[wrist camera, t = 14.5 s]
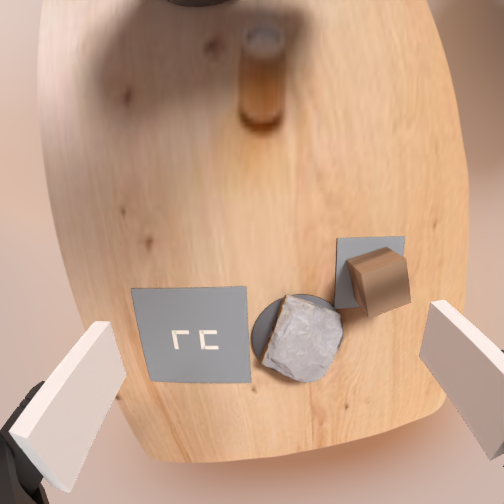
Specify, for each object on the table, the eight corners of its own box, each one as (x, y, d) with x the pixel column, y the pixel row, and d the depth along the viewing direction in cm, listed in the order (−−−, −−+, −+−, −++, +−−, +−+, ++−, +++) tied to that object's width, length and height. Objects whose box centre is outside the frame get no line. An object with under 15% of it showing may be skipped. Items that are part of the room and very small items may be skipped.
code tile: (131, 288, 41) (130, 289, 41) (246, 286, 41) (246, 286, 41) (151, 380, 45) (150, 381, 45) (251, 381, 45) (251, 382, 45)
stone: (352, 311, 42) (360, 322, 38) (318, 376, 44) (322, 391, 41) (284, 290, 41) (287, 301, 37) (254, 361, 44) (255, 375, 40)
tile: (337, 238, 40) (337, 238, 39) (404, 236, 40) (405, 236, 39) (333, 308, 42) (334, 309, 42) (397, 302, 42) (397, 303, 42)
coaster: (250, 296, 42) (250, 298, 41) (345, 291, 41) (346, 292, 41) (253, 374, 45) (254, 376, 44) (337, 368, 45) (338, 370, 44)
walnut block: (346, 259, 40) (361, 274, 34) (386, 246, 40) (405, 258, 34) (354, 299, 42) (368, 318, 36) (392, 285, 41) (410, 302, 35)
